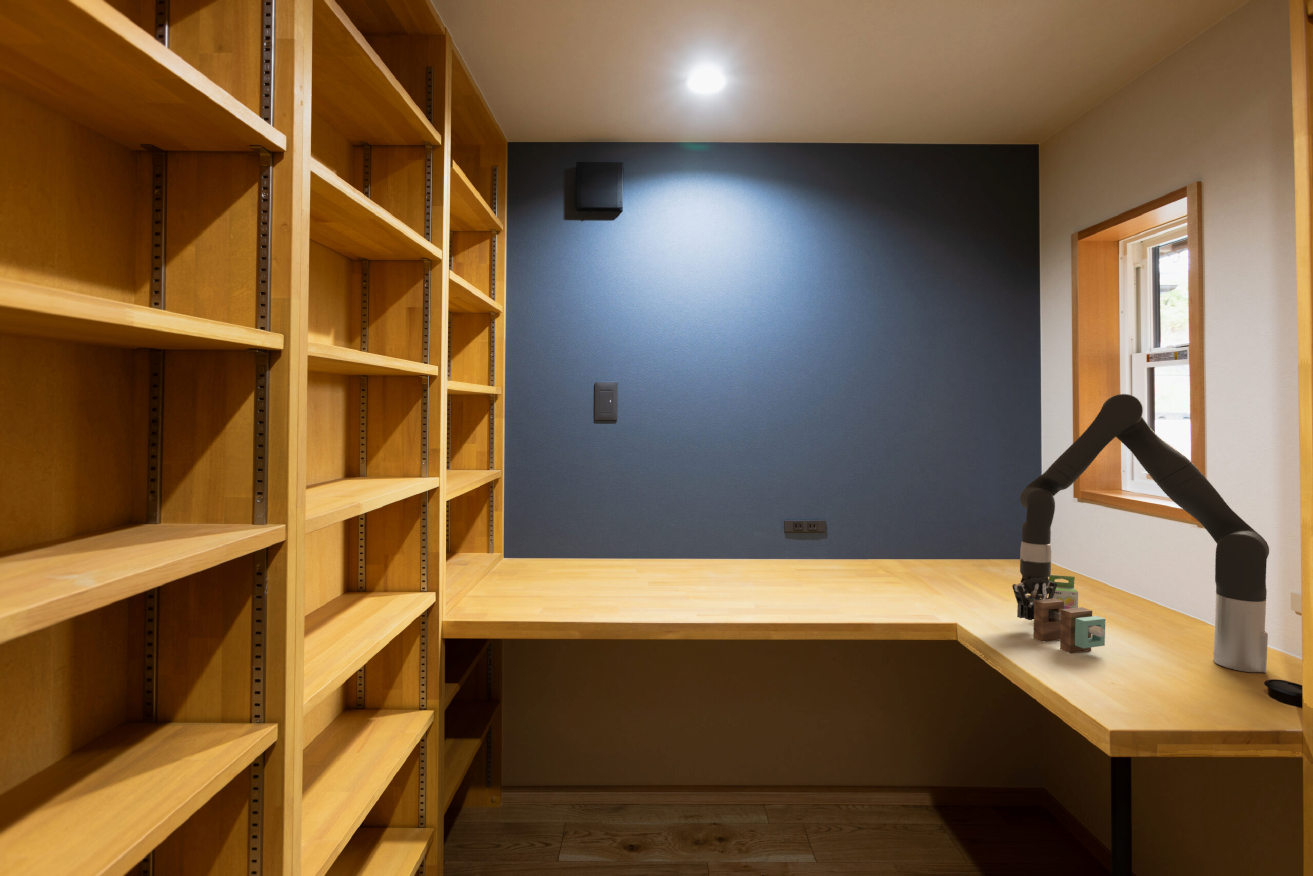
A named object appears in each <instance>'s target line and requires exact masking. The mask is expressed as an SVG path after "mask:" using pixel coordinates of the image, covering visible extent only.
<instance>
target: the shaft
mask: <svg viewBox="0 0 1313 876" xmlns="http://www.w3.org/2000/svg"><path fill="white" fill-rule="evenodd" d="M1029 595H1030V596H1031V594H1029ZM1040 599H1041V598H1040ZM1040 599H1037V598H1035V599H1034V600H1040ZM1034 600H1033V605H1032V607H1033V616H1032V620H1034ZM1028 601H1029V598H1028V600H1027V602H1028ZM1016 607H1017V611H1016V612H1017V613H1016V614H1017V615H1016V617H1017V618H1019V619H1025V618H1024V616H1023V609H1024V606H1023V605H1022V604H1019V603H1017V606H1016ZM1048 618H1049V619H1052V620H1055V621H1057V622H1060V623H1061V613H1058V612H1056V611H1053V610H1050V609H1048ZM1088 633H1090V634H1093V635H1096V636H1099V637H1102V636H1103V635H1104V633H1105V634H1106V629H1105V630H1104V628H1102V627H1099V626H1096V625H1094V626H1088Z"/></svg>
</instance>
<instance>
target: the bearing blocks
mask: <svg viewBox="0 0 1313 876" xmlns="http://www.w3.org/2000/svg"><path fill="white" fill-rule="evenodd" d="M1048 609H1050V610H1053V611H1056V612H1058V613H1061V623H1060V622H1057V621H1055V620H1052V619H1049V618H1048ZM1091 616H1093V610H1092V609H1088V608H1085V607H1082V606H1081V607H1079V606H1078V608H1070V609H1064V601H1062V600H1058V599H1055V598H1052V599H1043V600H1034V619H1033V639H1034V640H1036V641H1039V642H1042V643H1044V642H1045V643H1047V642H1054V641H1060V643H1059V644H1060V645H1059V649H1060V651H1064V652H1066V653H1068V654H1075V653H1081V652H1082V653H1083V652H1090V651H1092V647H1091V648H1081V647H1078V646H1076V645H1075V622H1076V618H1082V617H1091ZM1088 638H1092V634H1090V633H1088Z"/></svg>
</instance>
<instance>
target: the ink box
mask: <svg viewBox="0 0 1313 876" xmlns="http://www.w3.org/2000/svg"><path fill="white" fill-rule="evenodd" d="M1048 579H1049V581H1051V582H1054V583H1057V587H1056V590H1055V593H1054V596H1053V598H1055V599H1058V600H1062V601H1064V609H1070V608H1079V592H1078V590H1076V588H1075V576H1071V575H1055V574H1051V575H1050V577H1048ZM1055 580H1065V581H1068V582H1061V581H1055Z"/></svg>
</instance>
